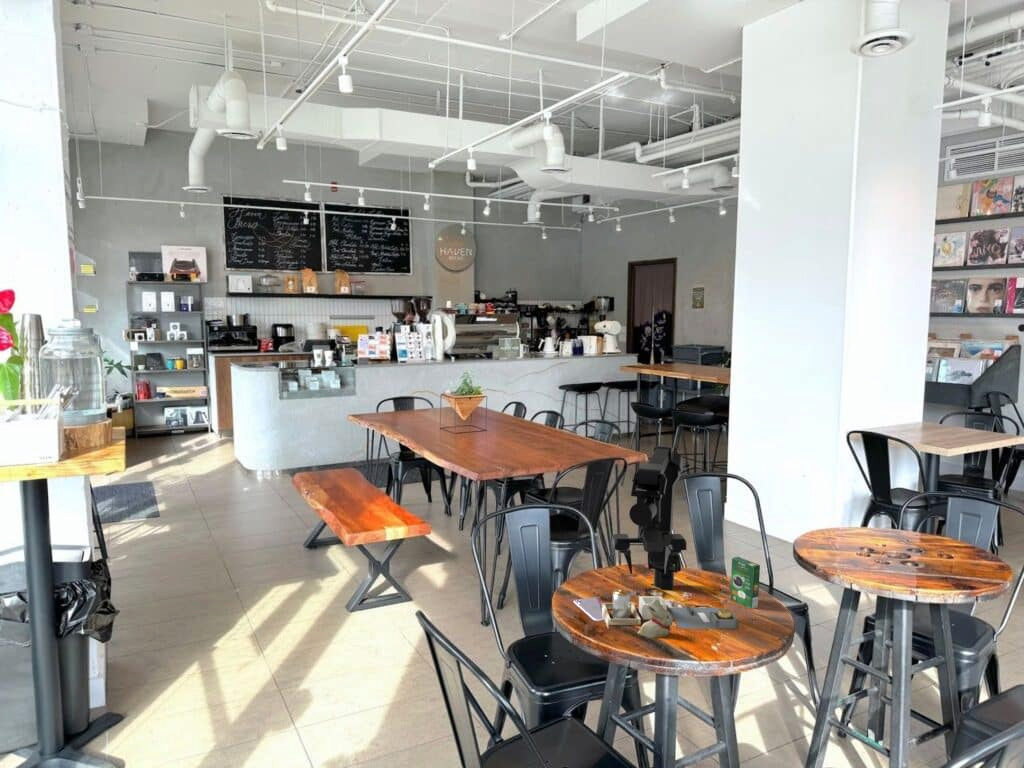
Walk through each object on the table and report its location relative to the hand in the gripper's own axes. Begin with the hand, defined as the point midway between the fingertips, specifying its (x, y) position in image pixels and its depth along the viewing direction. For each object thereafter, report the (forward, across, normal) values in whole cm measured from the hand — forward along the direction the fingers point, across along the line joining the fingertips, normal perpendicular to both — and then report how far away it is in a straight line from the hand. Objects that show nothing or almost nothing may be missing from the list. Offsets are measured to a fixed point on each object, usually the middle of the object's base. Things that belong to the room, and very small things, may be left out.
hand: (648, 573), depth 190 cm
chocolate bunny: (+12, -1, -14) cm, 18 cm away
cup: (+12, +1, -2) cm, 12 cm away
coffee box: (+12, +28, +6) cm, 31 cm away
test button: (+9, +18, -8) cm, 22 cm away
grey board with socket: (+12, +13, -4) cm, 18 cm away
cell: (+11, -8, -4) cm, 14 cm away
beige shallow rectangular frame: (+11, -8, -4) cm, 14 cm away
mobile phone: (+12, -13, +4) cm, 18 cm away
